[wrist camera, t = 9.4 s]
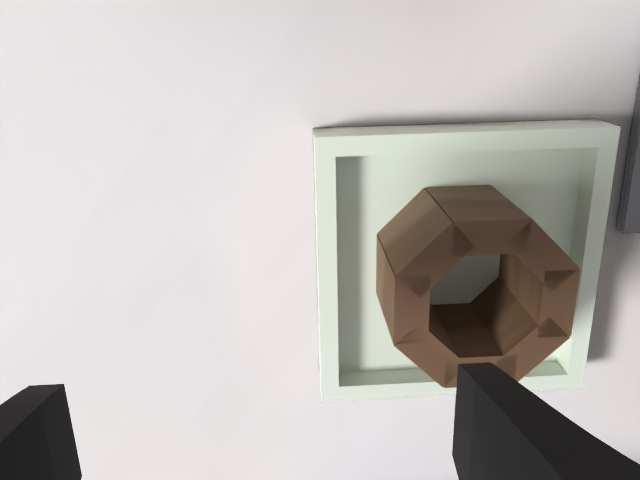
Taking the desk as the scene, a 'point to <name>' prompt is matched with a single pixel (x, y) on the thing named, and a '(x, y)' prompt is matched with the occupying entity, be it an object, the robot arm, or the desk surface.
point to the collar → (492, 303)
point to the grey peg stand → (631, 178)
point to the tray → (472, 271)
